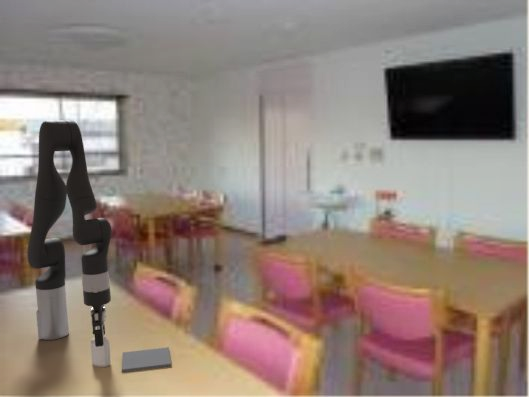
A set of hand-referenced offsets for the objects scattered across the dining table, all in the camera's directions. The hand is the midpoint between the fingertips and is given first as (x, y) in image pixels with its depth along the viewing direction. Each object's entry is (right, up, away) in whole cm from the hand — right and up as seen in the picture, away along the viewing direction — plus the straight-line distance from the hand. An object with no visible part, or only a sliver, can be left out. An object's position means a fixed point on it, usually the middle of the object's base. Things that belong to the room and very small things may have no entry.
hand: (100, 340), depth 157 cm
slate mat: (+13, -7, +3) cm, 15 cm away
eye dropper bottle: (0, -8, +1) cm, 8 cm away
